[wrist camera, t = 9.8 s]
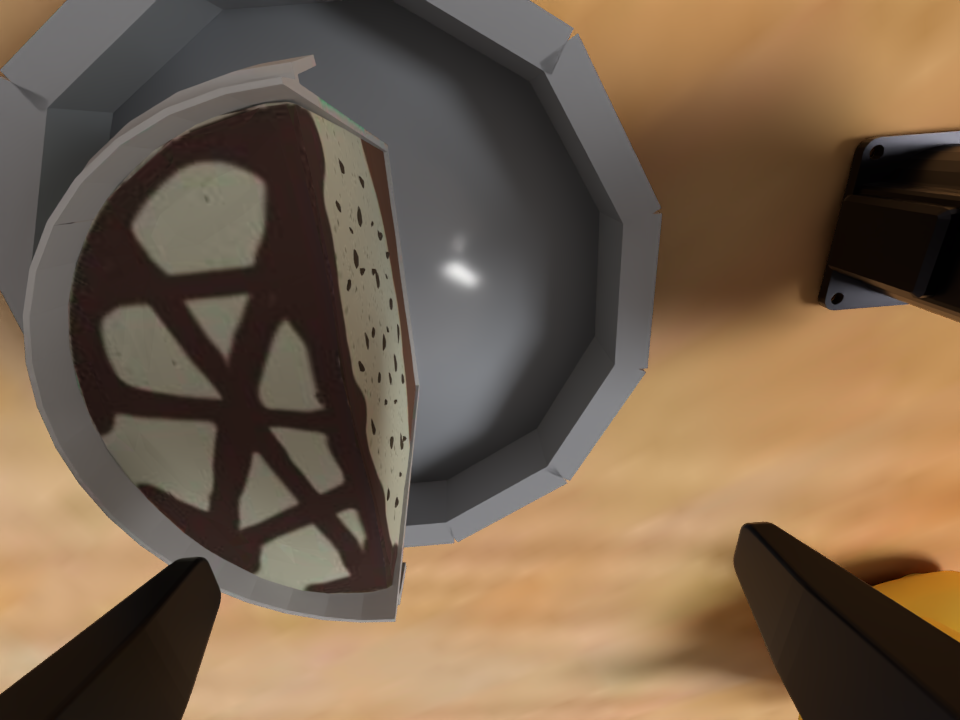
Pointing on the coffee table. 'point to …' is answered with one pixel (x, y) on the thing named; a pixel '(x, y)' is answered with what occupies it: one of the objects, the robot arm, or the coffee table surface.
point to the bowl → (406, 205)
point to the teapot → (928, 598)
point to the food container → (237, 343)
